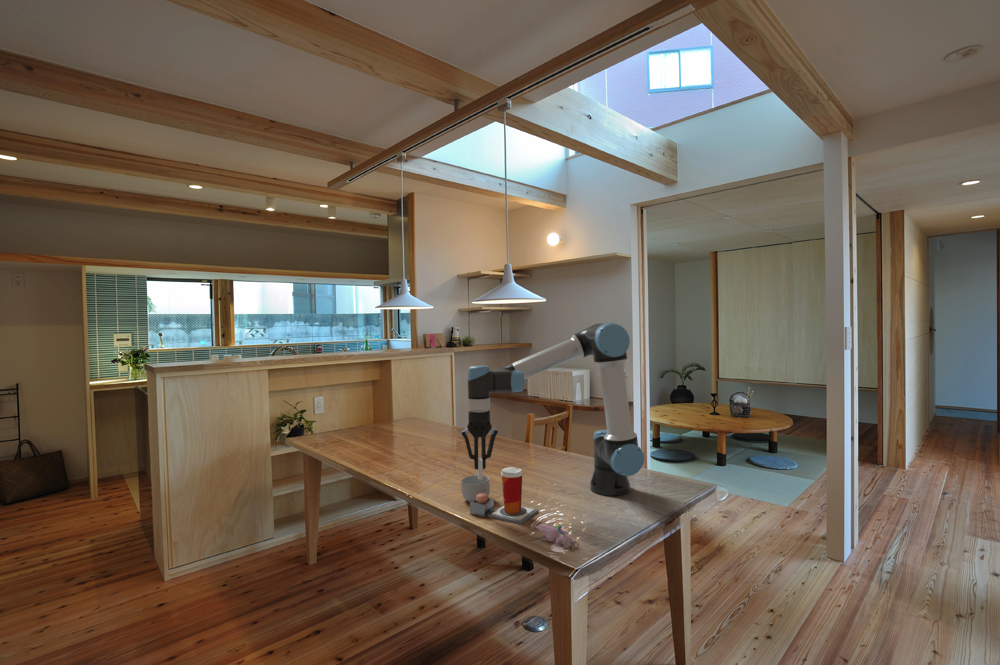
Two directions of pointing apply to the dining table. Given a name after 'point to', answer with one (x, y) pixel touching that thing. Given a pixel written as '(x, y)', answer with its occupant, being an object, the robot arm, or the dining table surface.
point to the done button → (481, 498)
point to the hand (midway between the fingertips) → (480, 478)
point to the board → (513, 515)
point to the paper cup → (512, 489)
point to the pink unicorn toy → (557, 535)
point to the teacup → (474, 486)
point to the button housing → (482, 507)
